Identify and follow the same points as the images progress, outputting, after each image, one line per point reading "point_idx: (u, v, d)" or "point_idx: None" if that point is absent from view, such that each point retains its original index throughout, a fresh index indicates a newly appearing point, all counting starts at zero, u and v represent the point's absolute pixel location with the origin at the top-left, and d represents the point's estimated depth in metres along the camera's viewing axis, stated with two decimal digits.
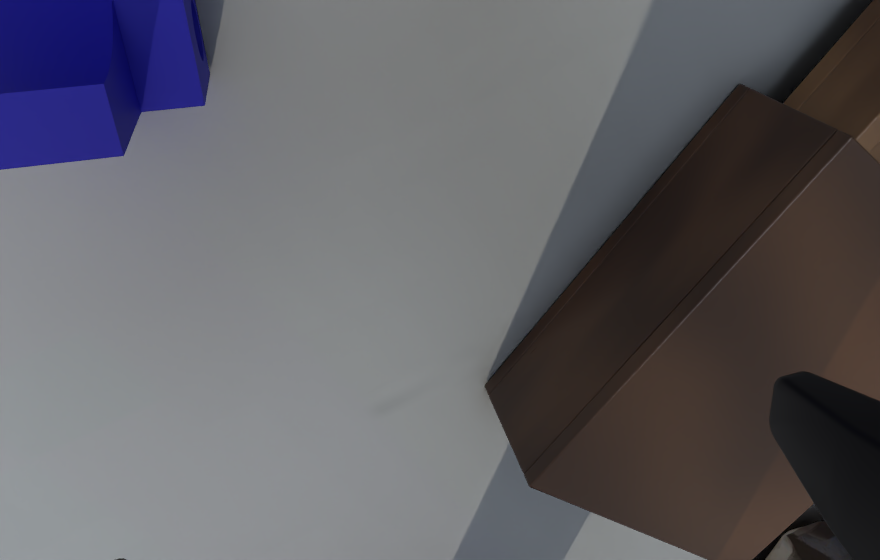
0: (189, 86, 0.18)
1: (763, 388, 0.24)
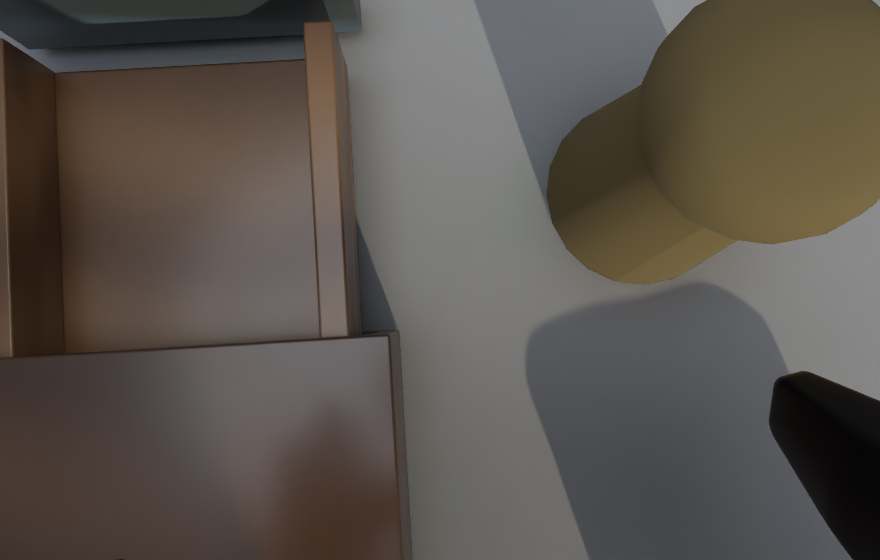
0: None
1: None
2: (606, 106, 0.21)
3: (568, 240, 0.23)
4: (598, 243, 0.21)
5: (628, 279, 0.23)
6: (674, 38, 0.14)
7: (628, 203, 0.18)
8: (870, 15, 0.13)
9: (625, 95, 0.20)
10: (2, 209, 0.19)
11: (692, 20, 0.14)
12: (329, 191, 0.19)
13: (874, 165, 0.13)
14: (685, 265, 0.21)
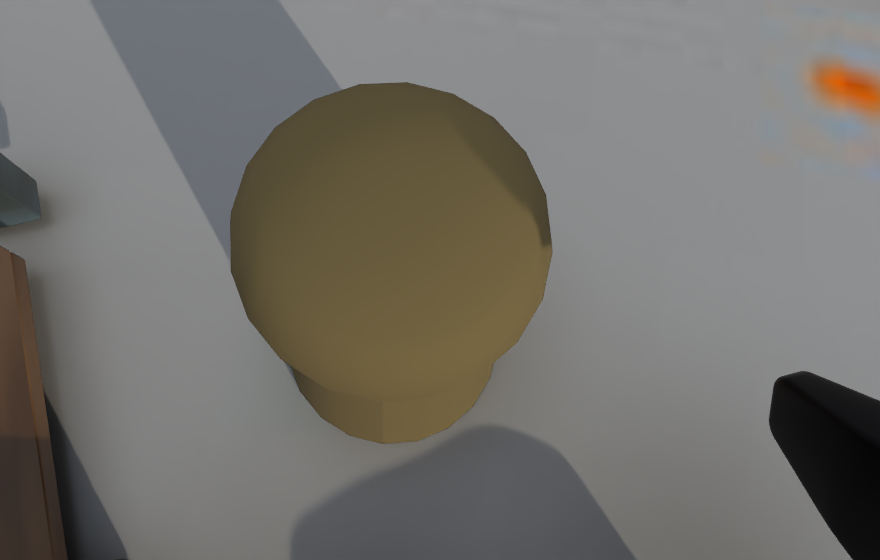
0: None
1: None
2: None
3: (316, 408, 0.20)
4: (332, 410, 0.18)
5: (394, 440, 0.20)
6: None
7: None
8: (449, 114, 0.11)
9: None
10: None
11: None
12: None
13: (486, 287, 0.10)
14: (434, 416, 0.18)
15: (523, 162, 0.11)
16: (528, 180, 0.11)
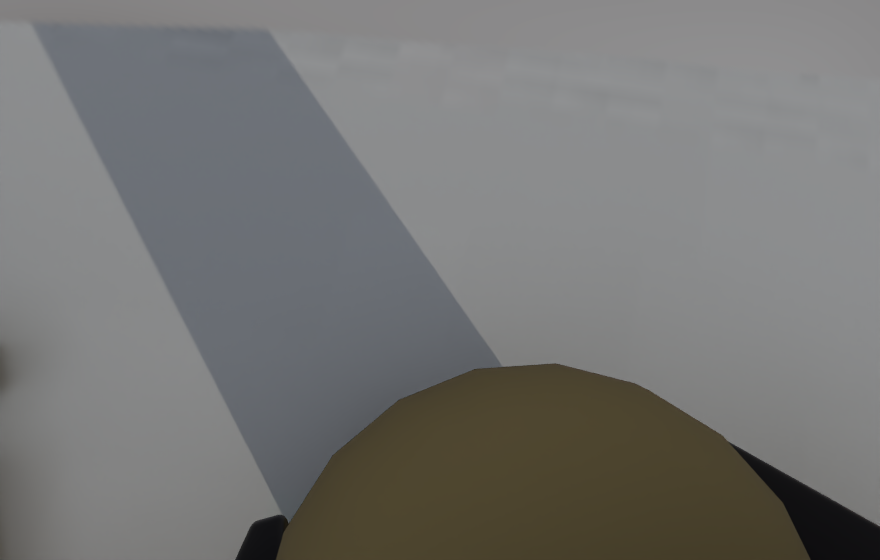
0: None
1: None
2: None
3: None
4: None
5: None
6: (282, 558, 0.06)
7: None
8: (668, 474, 0.06)
9: None
10: None
11: (305, 523, 0.06)
12: None
13: None
14: None
15: (799, 550, 0.06)
16: None
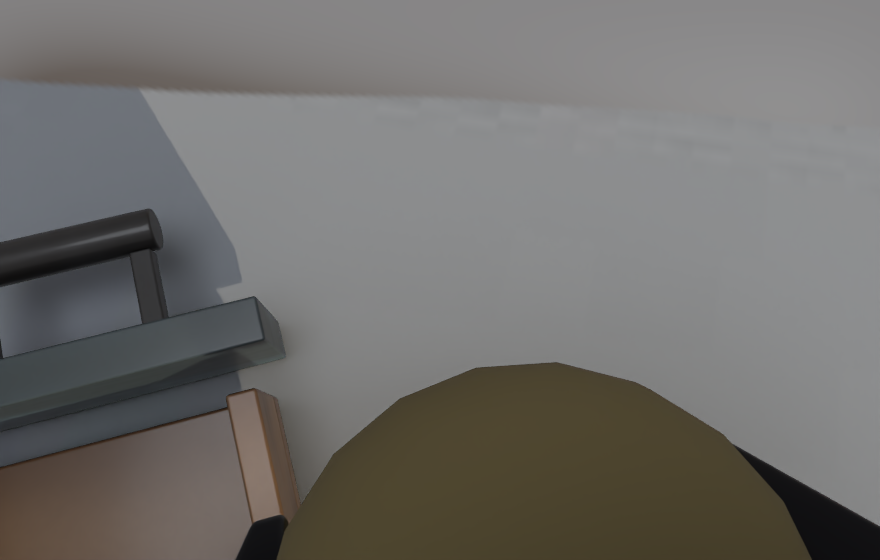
0: None
1: None
2: None
3: None
4: None
5: None
6: (283, 556, 0.06)
7: None
8: (669, 472, 0.06)
9: None
10: None
11: (306, 521, 0.06)
12: None
13: None
14: None
15: (799, 549, 0.06)
16: None
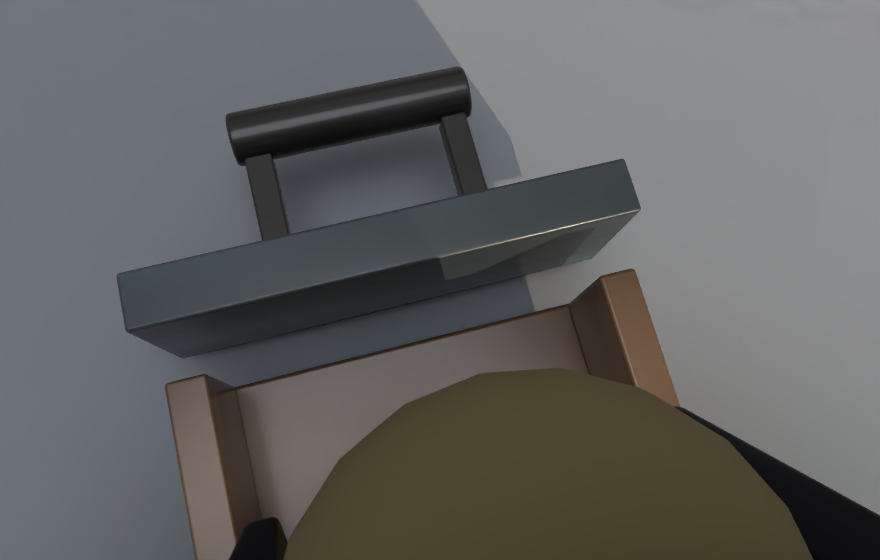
0: None
1: None
2: None
3: None
4: None
5: None
6: None
7: None
8: (675, 478, 0.06)
9: None
10: None
11: (312, 528, 0.06)
12: None
13: None
14: None
15: (804, 555, 0.06)
16: None
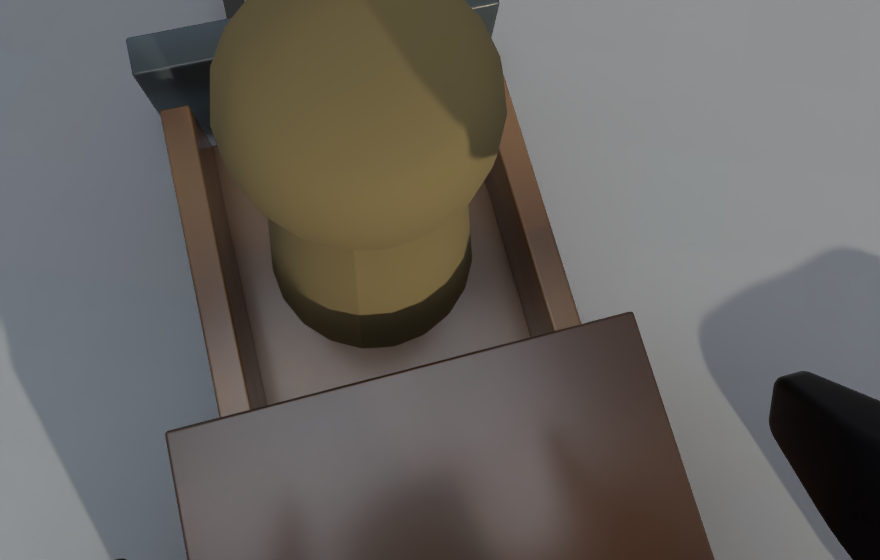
0: None
1: None
2: None
3: (298, 313, 0.21)
4: (312, 306, 0.19)
5: (372, 343, 0.21)
6: None
7: (291, 245, 0.16)
8: None
9: None
10: (215, 262, 0.19)
11: None
12: (528, 190, 0.20)
13: (441, 127, 0.11)
14: (408, 311, 0.19)
15: (478, 23, 0.12)
16: (482, 38, 0.12)
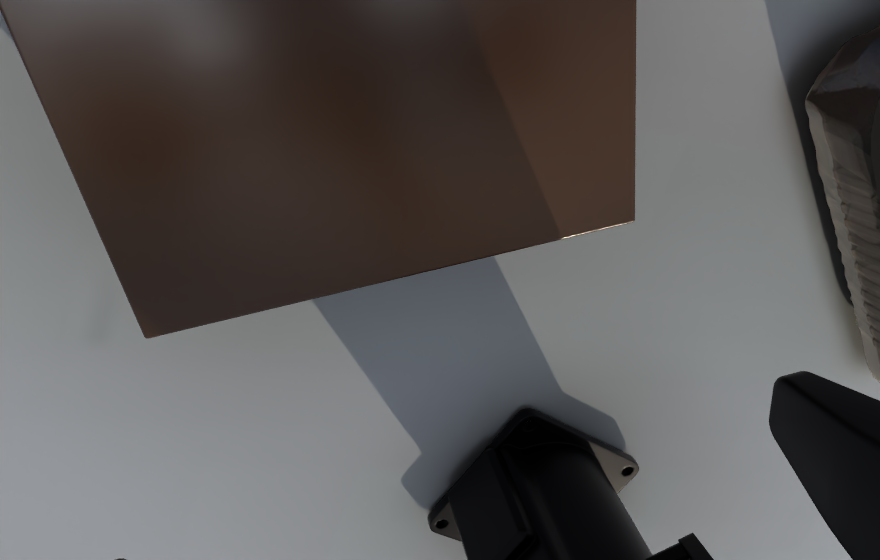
0: None
1: None
2: None
3: None
4: None
5: None
6: None
7: None
8: None
9: None
10: None
11: None
12: None
13: None
14: None
15: None
16: None
